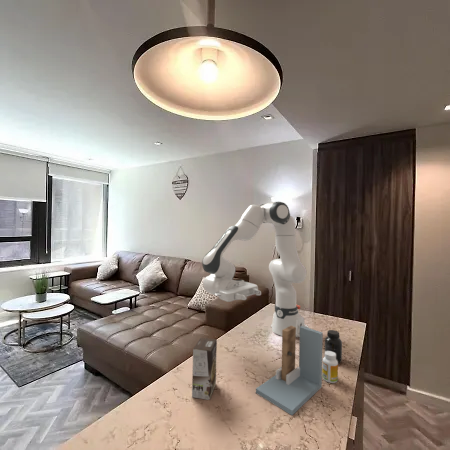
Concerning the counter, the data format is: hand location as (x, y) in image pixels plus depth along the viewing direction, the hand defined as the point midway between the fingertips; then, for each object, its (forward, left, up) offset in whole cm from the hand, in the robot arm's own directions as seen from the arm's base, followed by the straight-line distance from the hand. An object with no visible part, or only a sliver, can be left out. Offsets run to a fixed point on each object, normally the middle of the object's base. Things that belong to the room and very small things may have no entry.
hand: (253, 295), depth 106 cm
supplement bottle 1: (-28, +22, -28) cm, 46 cm away
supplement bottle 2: (-13, +27, -28) cm, 41 cm away
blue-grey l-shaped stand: (+4, +20, -28) cm, 35 cm away
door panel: (0, +17, -27) cm, 32 cm away
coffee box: (+26, 0, -28) cm, 38 cm away
